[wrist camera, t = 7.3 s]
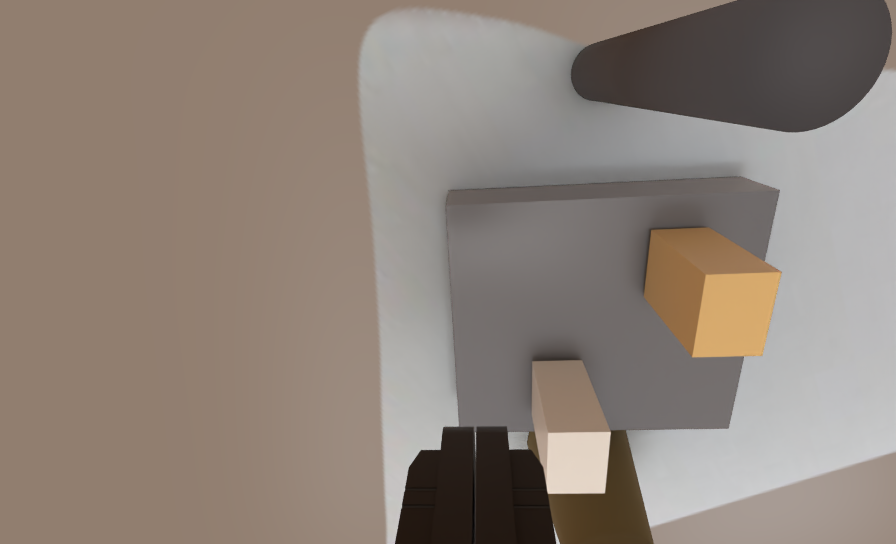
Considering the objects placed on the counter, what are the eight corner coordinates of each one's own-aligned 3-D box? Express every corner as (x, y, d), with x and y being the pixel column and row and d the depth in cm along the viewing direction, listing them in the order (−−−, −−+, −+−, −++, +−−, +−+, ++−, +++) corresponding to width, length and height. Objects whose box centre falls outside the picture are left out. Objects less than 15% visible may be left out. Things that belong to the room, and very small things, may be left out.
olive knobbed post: (611, 389, 27) (696, 574, 17) (637, 463, 29) (726, 669, 19) (513, 418, 28) (538, 608, 18) (544, 488, 30) (582, 694, 20)
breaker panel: (740, 176, 22) (779, 190, 19) (701, 392, 27) (728, 428, 24) (448, 190, 23) (445, 205, 20) (460, 397, 28) (459, 432, 25)
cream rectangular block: (581, 360, 23) (610, 431, 18) (578, 413, 24) (604, 493, 19) (532, 361, 23) (548, 432, 18) (531, 414, 24) (546, 493, 19)
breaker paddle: (709, 227, 20) (781, 272, 15) (697, 295, 21) (762, 355, 16) (651, 229, 20) (706, 274, 15) (643, 296, 21) (692, 357, 17)
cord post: (628, 40, 20) (911, -33, 7) (623, 99, 21) (868, 128, 8) (572, 44, 20) (751, -20, 7) (570, 102, 21) (726, 136, 8)
